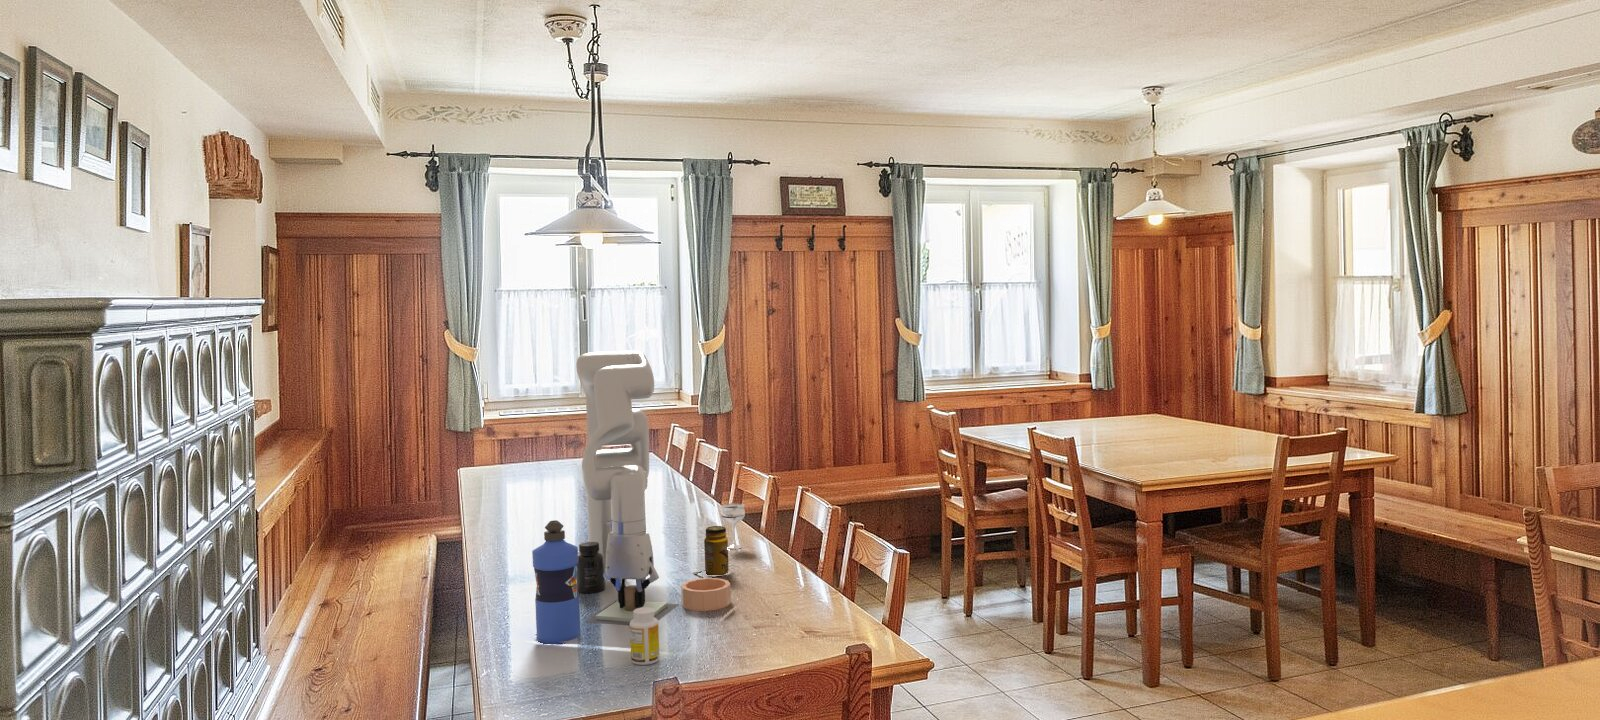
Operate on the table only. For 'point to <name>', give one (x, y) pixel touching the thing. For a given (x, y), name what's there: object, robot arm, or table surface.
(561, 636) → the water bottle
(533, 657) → the table surface
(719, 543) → the condiment
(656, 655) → the supplement bottle
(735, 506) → the wineglass
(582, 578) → the supplement bottle
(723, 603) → the bowl
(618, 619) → the lid
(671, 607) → the mat
